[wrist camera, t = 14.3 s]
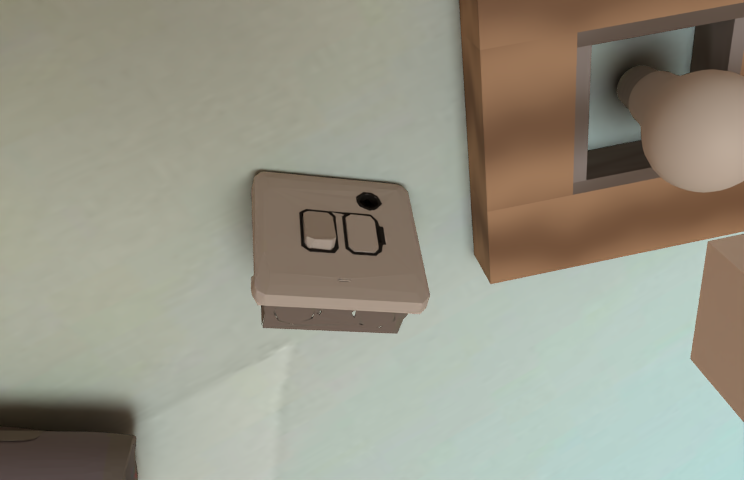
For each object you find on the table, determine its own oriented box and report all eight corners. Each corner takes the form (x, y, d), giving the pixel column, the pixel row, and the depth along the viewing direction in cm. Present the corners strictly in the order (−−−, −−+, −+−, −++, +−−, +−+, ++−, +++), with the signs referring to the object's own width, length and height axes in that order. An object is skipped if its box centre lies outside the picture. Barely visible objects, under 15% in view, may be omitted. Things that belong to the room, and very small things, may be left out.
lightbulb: (691, 31, 42) (825, 93, 32) (663, 129, 45) (777, 212, 35) (594, 28, 40) (704, 92, 31) (572, 129, 44) (665, 215, 34)
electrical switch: (407, 182, 44) (441, 277, 36) (389, 249, 46) (417, 351, 39) (252, 166, 41) (255, 265, 34) (243, 238, 44) (244, 344, 37)
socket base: (455, -69, 36) (475, -59, 33) (817, -130, 38) (866, -125, 35) (474, 254, 47) (490, 284, 44) (756, 196, 49) (790, 221, 46)
